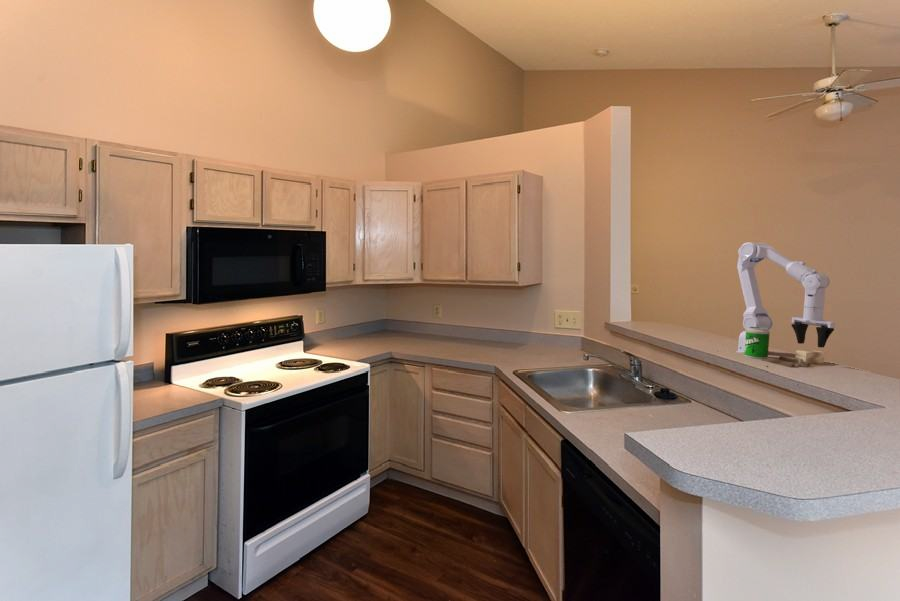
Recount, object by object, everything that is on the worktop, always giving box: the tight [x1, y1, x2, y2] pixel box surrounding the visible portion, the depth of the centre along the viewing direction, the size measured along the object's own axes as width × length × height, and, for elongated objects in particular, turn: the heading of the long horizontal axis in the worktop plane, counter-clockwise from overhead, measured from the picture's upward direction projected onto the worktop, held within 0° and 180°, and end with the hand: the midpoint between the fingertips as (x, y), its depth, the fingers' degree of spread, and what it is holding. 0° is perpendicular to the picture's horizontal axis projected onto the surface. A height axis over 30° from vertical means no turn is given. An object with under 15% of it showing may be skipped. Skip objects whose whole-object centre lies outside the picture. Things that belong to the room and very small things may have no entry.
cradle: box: [761, 355, 837, 368], centre depth 175 cm, size 12×20×4 cm, turn 104°
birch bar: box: [794, 349, 825, 364], centre depth 176 cm, size 8×4×4 cm, turn 104°
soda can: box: [743, 327, 771, 360], centre depth 184 cm, size 8×8×12 cm
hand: (810, 345), depth 176 cm, fingers open, 7 cm apart
